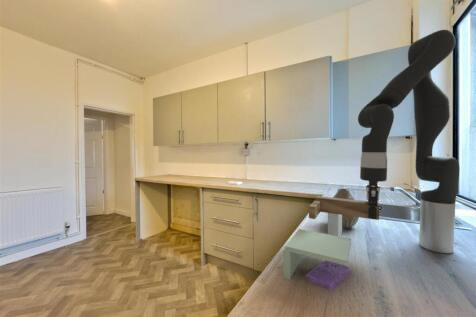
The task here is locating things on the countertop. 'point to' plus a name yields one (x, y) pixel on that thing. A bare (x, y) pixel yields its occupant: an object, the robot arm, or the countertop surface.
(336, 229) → the skincare box
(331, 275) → the sponges
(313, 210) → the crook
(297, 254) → the wall shelf
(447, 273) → the countertop surface
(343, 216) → the vase
